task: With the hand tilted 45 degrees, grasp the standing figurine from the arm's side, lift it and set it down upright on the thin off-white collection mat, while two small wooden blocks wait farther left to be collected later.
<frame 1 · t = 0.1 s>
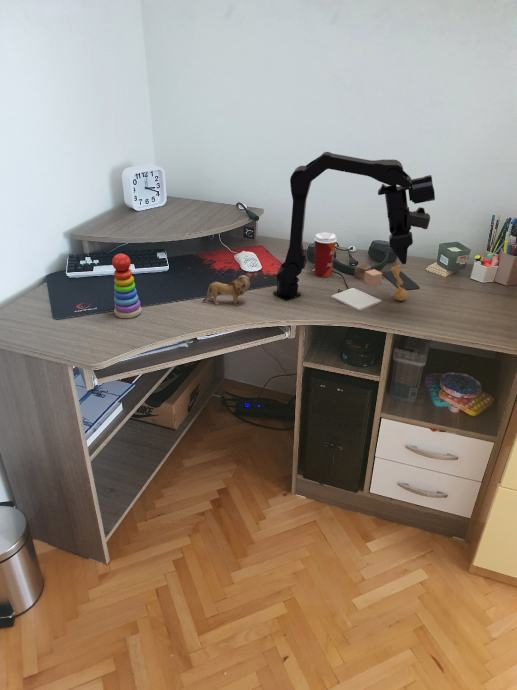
hand: (403, 258, 162), 15 cm above the table, tool pointing down, fingers open, 9 cm apart
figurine: (396, 300, 173), on the table
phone: (400, 282, 186), on the table
lion figurine: (227, 302, 170), on the table
collection mat: (355, 299, 172), on the table
terracotta block: (372, 283, 184), on the table
paper cup: (322, 274, 190), on the table
stacking toy: (128, 313, 163), on the table
walnut block: (362, 277, 188), on the table
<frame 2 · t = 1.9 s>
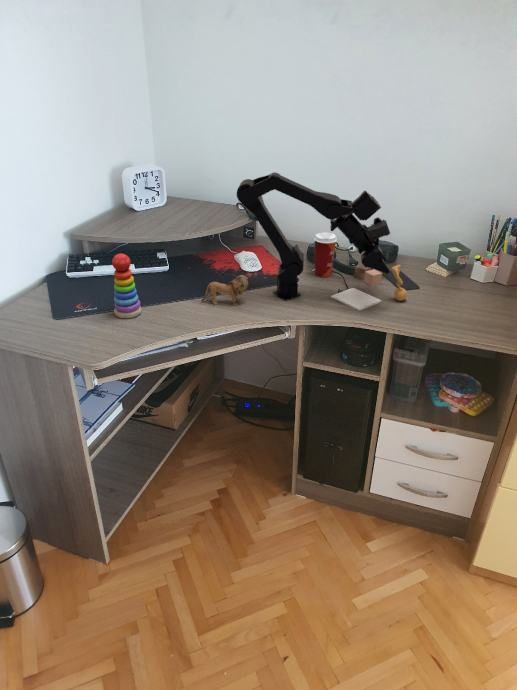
hand: (387, 266, 167), 11 cm above the table, tool tilted 45°, fingers open, 9 cm apart
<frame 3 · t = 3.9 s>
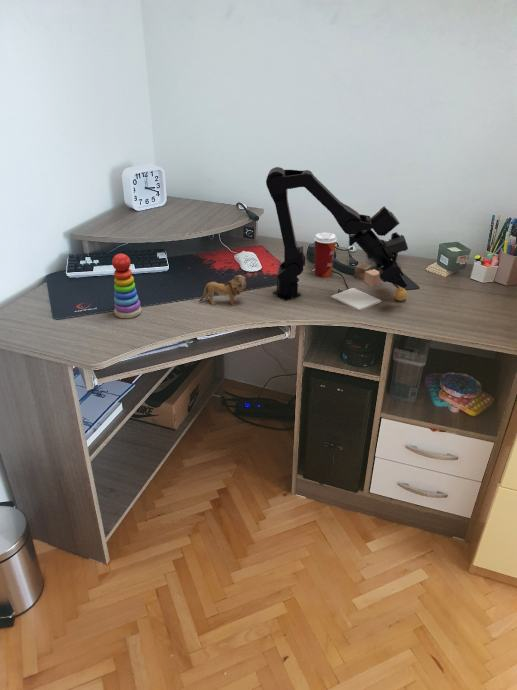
hand: (404, 281, 169), 7 cm above the table, tool tilted 45°, fingers closed on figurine, 8 cm apart
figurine: (396, 300, 173), on the table, touching gripper
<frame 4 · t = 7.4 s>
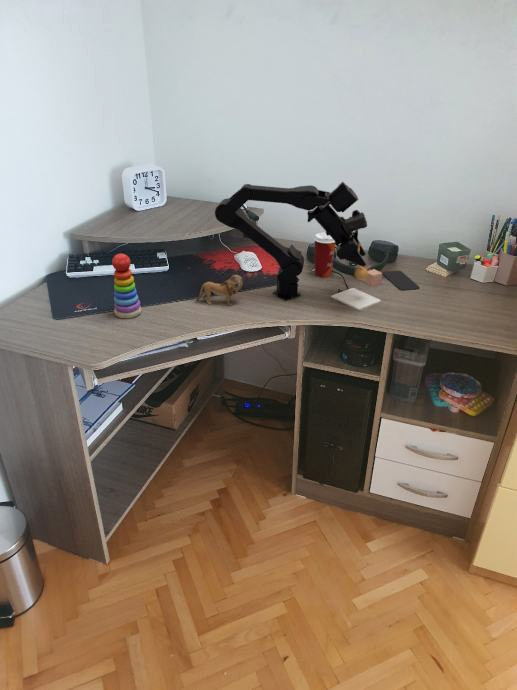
hand: (364, 260, 165), 13 cm above the table, tool tilted 45°, fingers closed on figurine, 8 cm apart
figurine: (357, 280, 169), point 7 cm above the table, touching gripper
lion figurine: (220, 302, 170), on the table
everything else where it was.
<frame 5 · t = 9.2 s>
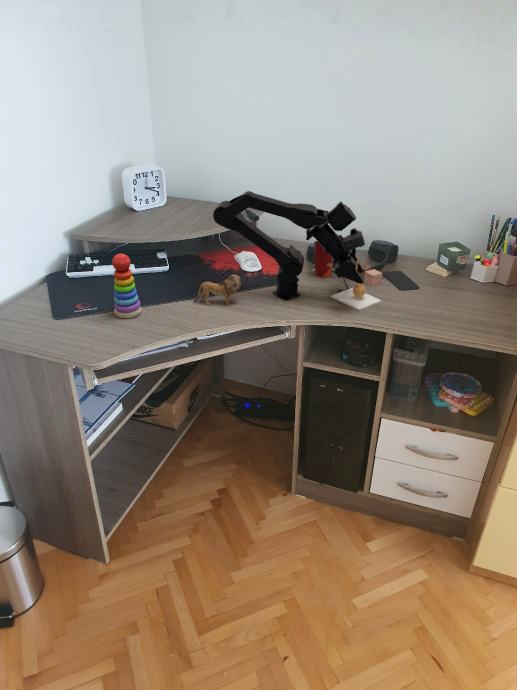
hand: (362, 277, 168), 8 cm above the table, tool tilted 45°, fingers closed on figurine, 8 cm apart
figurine: (355, 297, 172), point 1 cm above the table, touching gripper
when the fingers open (7 cm above the table, at t = 10.9 s): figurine stays where it is, resting on collection mat.
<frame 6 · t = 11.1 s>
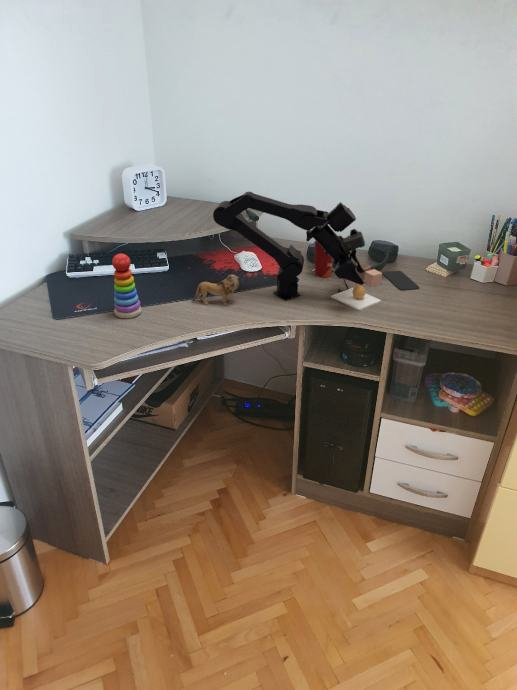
hand: (362, 278, 168), 8 cm above the table, tool tilted 45°, fingers open, 9 cm apart
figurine: (355, 298, 172), resting on collection mat
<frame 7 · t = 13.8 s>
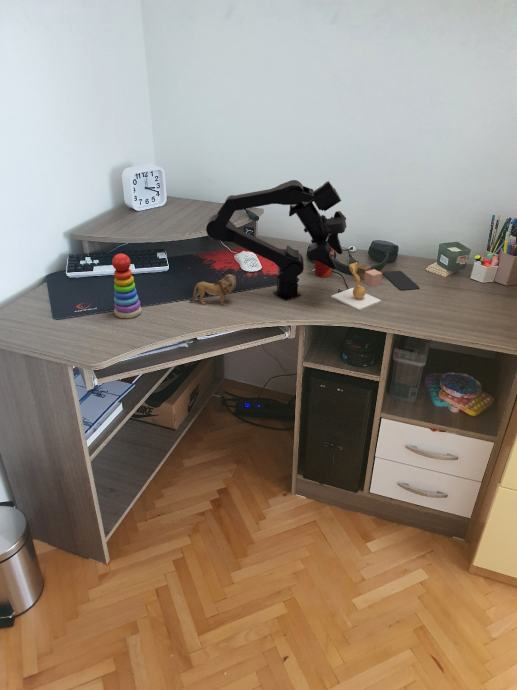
hand: (338, 261, 168), 12 cm above the table, tool tilted 35°, fingers open, 9 cm apart
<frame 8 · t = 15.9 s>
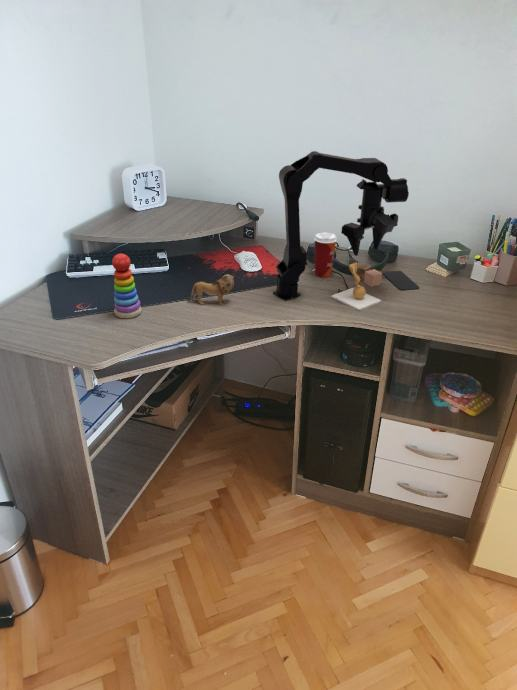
hand: (365, 252, 172), 13 cm above the table, tool pointing down, fingers open, 9 cm apart
at the end: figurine inside the target area (0.2 cm from its centre), on the table; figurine tilted 0°; the gripper is holding nothing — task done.
